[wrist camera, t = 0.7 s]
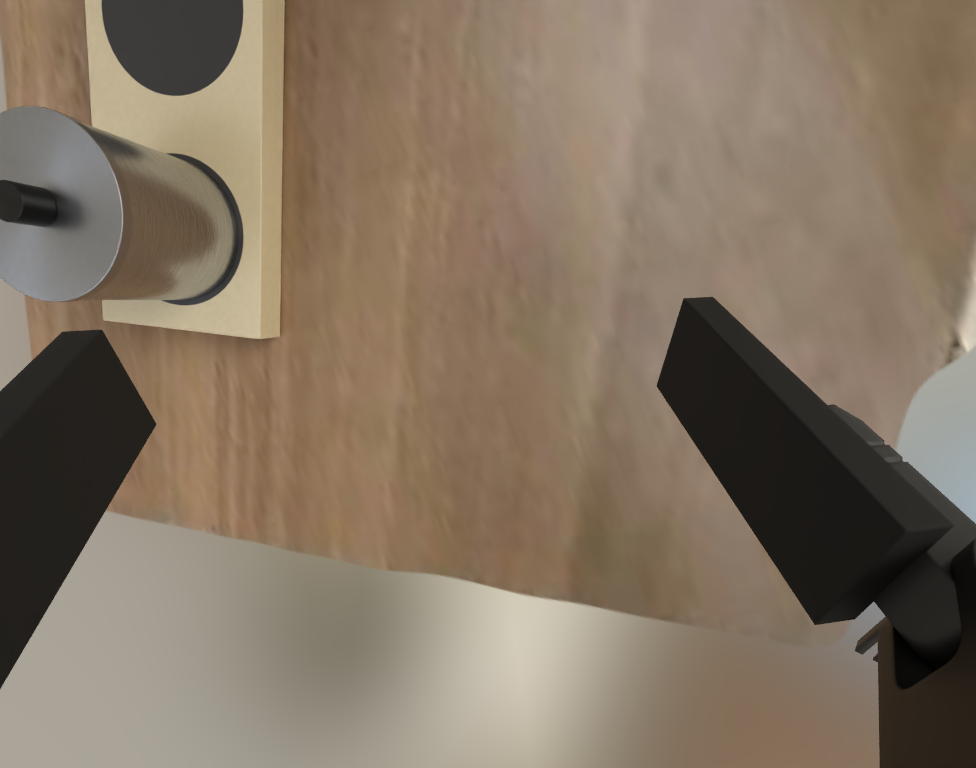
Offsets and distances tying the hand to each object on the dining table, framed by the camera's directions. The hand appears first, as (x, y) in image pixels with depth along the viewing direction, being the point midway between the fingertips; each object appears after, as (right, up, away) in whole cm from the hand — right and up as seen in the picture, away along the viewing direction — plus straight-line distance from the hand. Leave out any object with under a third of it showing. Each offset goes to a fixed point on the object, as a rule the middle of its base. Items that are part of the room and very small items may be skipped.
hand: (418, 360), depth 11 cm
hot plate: (-19, +18, +23) cm, 35 cm away
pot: (-20, +10, +22) cm, 32 cm away
